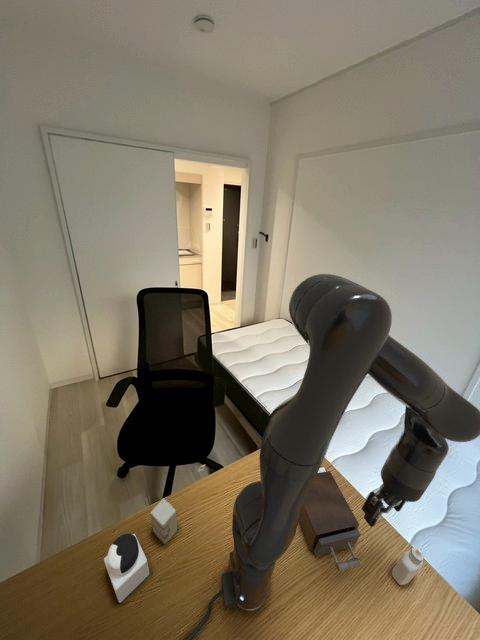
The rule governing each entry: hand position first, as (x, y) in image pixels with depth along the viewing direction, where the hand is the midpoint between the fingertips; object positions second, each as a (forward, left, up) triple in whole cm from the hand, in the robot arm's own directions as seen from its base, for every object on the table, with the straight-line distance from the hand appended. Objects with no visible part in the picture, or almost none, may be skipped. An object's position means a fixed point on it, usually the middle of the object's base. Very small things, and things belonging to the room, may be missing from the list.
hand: (381, 514), depth 56 cm
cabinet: (-6, +11, -20) cm, 23 cm away
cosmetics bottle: (-50, +15, -20) cm, 56 cm away
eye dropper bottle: (+9, -5, -20) cm, 23 cm away
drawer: (-6, +6, -19) cm, 21 cm away
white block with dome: (-58, +8, -20) cm, 62 cm away
